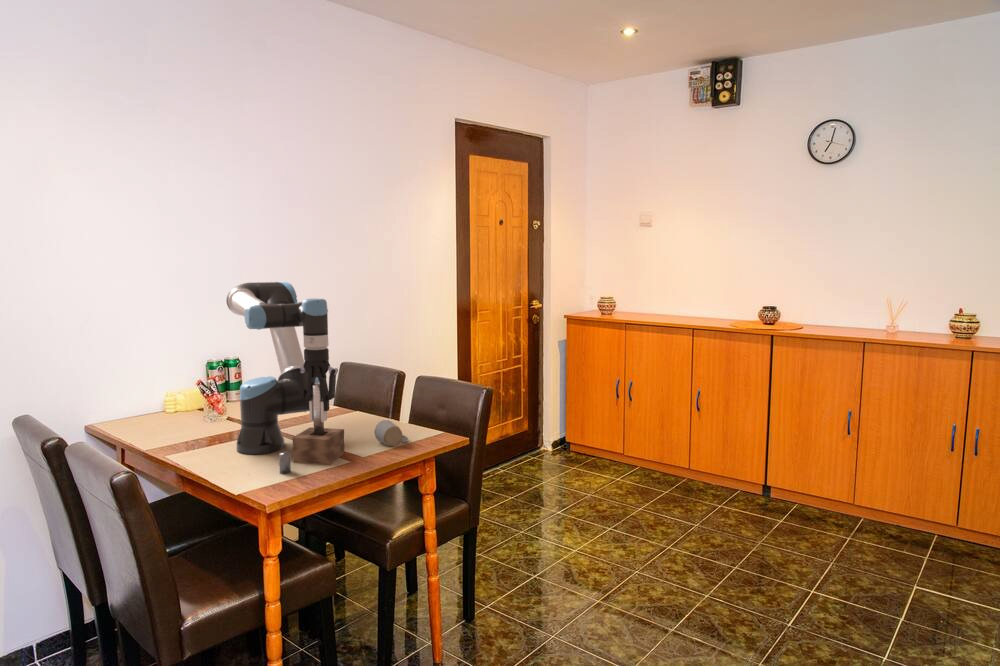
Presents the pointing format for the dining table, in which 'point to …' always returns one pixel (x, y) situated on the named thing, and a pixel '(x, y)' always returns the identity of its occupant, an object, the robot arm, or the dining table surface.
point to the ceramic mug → (389, 433)
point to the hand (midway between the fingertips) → (318, 420)
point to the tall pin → (317, 409)
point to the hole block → (318, 446)
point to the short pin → (284, 462)
